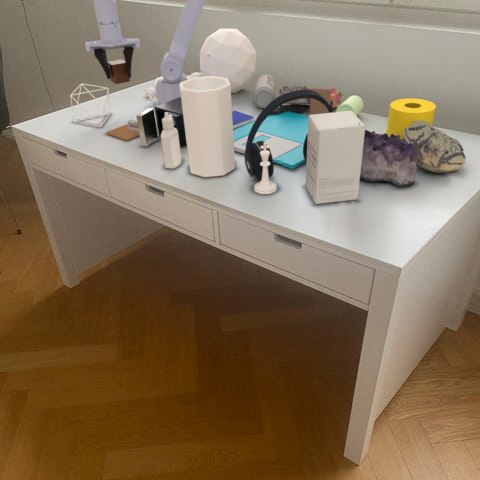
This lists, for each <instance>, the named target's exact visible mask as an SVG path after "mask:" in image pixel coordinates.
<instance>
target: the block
mask: <svg viewBox="0 0 480 480" xmlns="http://www.w3.org/2000/svg"><path fill="white" fill-rule="evenodd" d="M107 62H108V67H109V70H110V75H111V78H110V79H109V80H110V82H112V83H113V84H115V85H120V84H124V83H129V82H131V77H130V78H128V75H127V67H126V62H125V59H116V60H111V61H107Z"/></svg>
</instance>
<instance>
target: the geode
mask: <svg viewBox="0 0 480 480" xmlns="http://www.w3.org/2000/svg"><path fill="white" fill-rule="evenodd" d="M417 158H418V147H413V145H412V144H411V143H410V144H409V143H408V142H407V141H406V140H405V139H404V138H403V139H402V140H401V139H400V135H397V136H395V135H394V134H391V135H390V136H389V137H388V134H387V133H386V132H385V133H381V134H380V133H376V131H375V130H372V131H370V130H367V129H366V128H365V135H364V144H363V153H362V162H361V172H360V179H362V180H363V181H365V182H369V183H374V182H375V183H376V182H388V183H389V182H390V183H391V184H393V185H395V186H397V188H404V187H409V186H412V185H414V184H415V182H416V181H415V179H416V173H417V170H418V167H417V166H418V165H417Z"/></svg>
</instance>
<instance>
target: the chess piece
mask: <svg viewBox="0 0 480 480" xmlns="http://www.w3.org/2000/svg"><path fill="white" fill-rule="evenodd" d="M266 148H269V145H266V142H264V146H261V149H264V150H263V151H261V152H260V155H261V157H262V162H261V163H260V165H261V166H263V171H262V180H261V181H260V180H259V181H258V182H255V184H254V186H253V191H254V192H255V193H256V194H260V195H270V194H273V193H276V191H277V190H278V187H277V183H275V182H274V181H271V179H270V178H269V175H268V167H267V166H269V165H270V162H269V161H268V158H269V155H270V152H269V151H267V150H266Z"/></svg>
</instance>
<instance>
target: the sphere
mask: <svg viewBox="0 0 480 480" xmlns="http://www.w3.org/2000/svg"><path fill="white" fill-rule="evenodd" d="M257 55H258V53H257V51H256V49H255V48H254V46H253V44H252V42H251V41H250V39H249V38H248V37H247V36H246V35H245V34H243V33H242V32H241V31H240V30H239V29H237V28H219V29H217V30H215V32H213V33H212V34H210V35H209V36H207V37H205V40H204V42H203V44H202V47H201V49H200V50H199V70H200V73H202V74H203V76H204V77H205V76H216V77H222V78H227V79H228V80H229V83H230V86H231V94H236V93H238V92H239V91H241V90H243V89H244V88H247V86H249V85H250V83H251V81H252V80H253V77H254V75H255V73H256V67H257V66H256V65H257ZM203 76H202V77H203Z"/></svg>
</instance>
